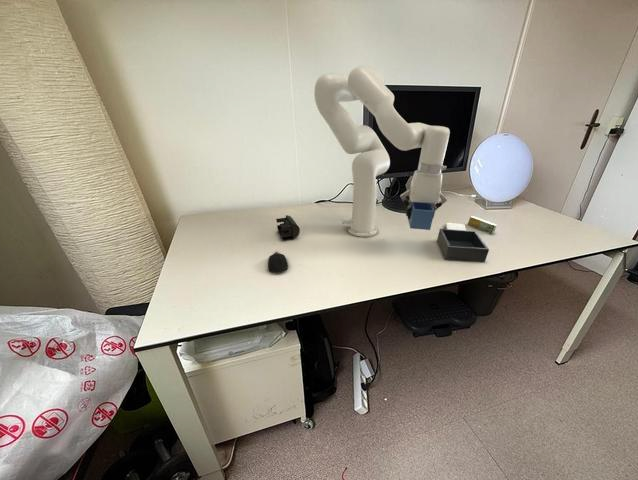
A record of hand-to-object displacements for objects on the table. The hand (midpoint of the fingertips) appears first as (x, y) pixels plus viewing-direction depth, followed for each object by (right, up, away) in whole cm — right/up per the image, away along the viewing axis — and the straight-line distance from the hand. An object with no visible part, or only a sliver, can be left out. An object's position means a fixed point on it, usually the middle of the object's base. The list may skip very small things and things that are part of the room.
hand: (419, 218), depth 101 cm
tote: (+17, -11, +5) cm, 21 cm away
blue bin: (0, -2, +1) cm, 2 cm away
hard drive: (+21, -2, +20) cm, 29 cm away
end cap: (-50, -5, +12) cm, 52 cm away
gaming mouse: (-50, -17, -6) cm, 53 cm away
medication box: (+34, -1, +23) cm, 41 cm away
